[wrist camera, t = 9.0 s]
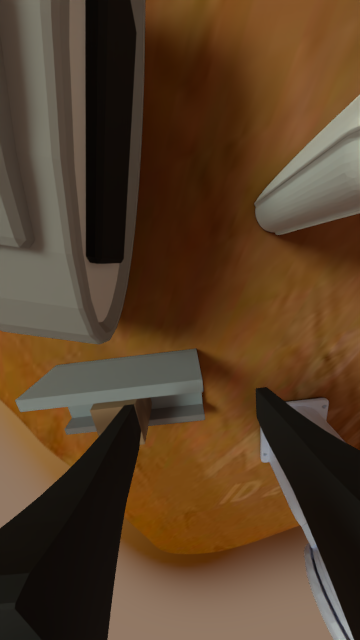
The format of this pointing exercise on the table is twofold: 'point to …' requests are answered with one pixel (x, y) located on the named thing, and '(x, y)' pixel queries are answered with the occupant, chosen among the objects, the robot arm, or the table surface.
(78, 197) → the alarm clock
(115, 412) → the cabinet block
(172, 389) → the wall shelf
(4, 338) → the table surface
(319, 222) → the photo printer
